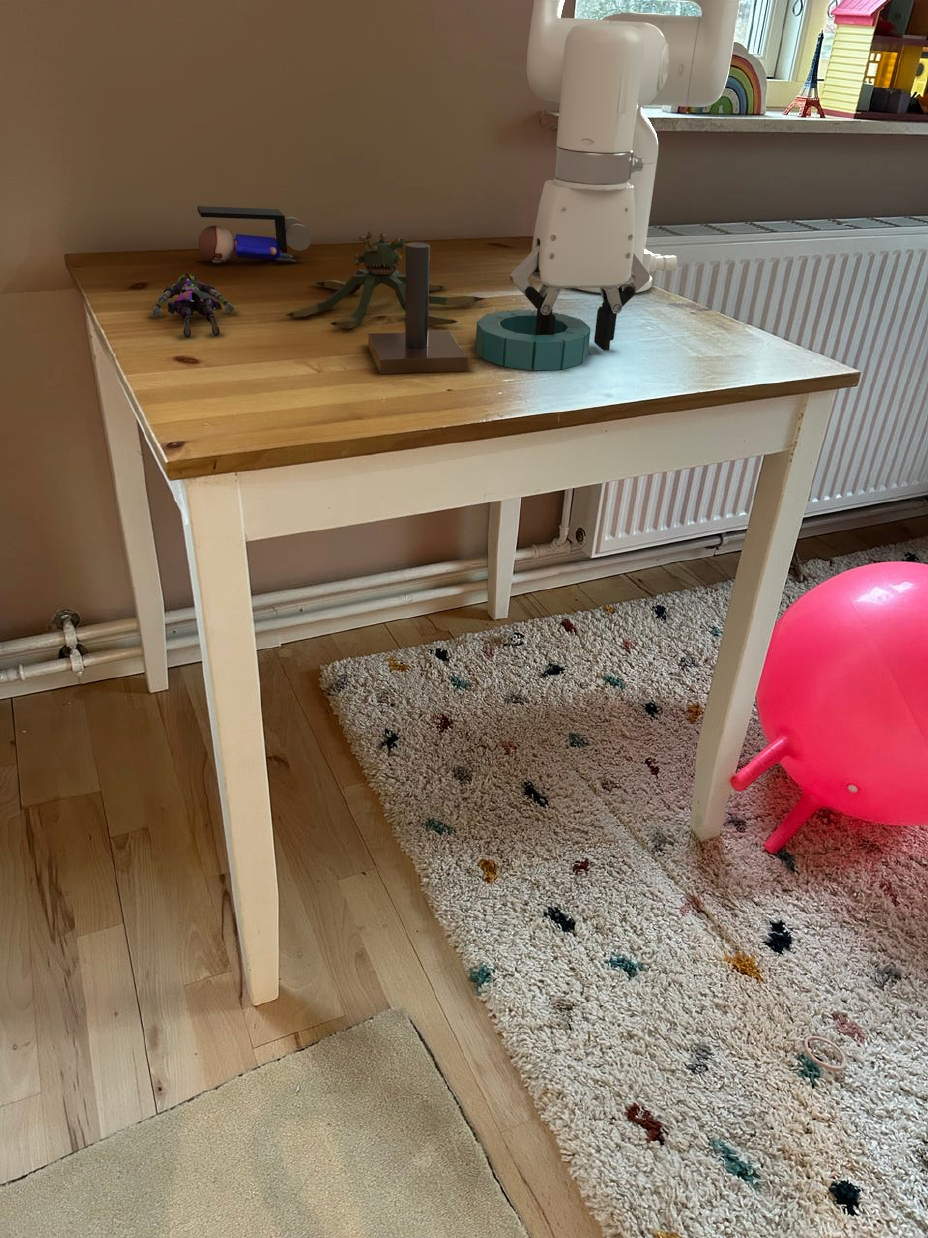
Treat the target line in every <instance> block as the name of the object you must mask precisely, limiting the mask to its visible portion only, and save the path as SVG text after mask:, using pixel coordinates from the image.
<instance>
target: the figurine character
mask: <svg viewBox="0 0 928 1238" xmlns="http://www.w3.org/2000/svg"><path fill="white" fill-rule="evenodd" d="M196 206H197V207H196V208H197V210H196V211H197V213H198V214H199V216H200V218H210V219H211V218H214V219H241V220H265V221H266V220H267V221H274V228H275V229H274V230H275V237H271V236H262V235H261V236H260V235H250V234H242V233H241V234H240V233H236V234H235V237H234V238H233V235H232V234H231V232H230V231H229V230H228V229H227V228H225V227H223V226H221V225H209V226H207V227H205V228H204V229H203V230H202V231H201V232H200V234H199V236H198V240H197V245H198V250H199V252H200V254H201V256H202V257H203V258H204V260H206V261H208V262H210V263H212V264H223V263H226V262H228V261H229V260H230V259H231V258H232V257H233V255H234V253H235V257H236V258H242V259H254V260H266V261H275V262H279V263H290V264H294V263H296V262H297V260H295V259H294V256H293V255H292V254H290V253H288V247H289V248H290V249H291V250H294V251H297V252H300V251H304V250H306V249H308V248H309V247H310V245H311V243H312V233H311V231H310V230H309V229H308V228H307V227H306V226H305V225H304V224H303V222H301V221H300V220H299V219H298V218H296V217H293V216H287V217H286V215H285V214H284V213H283V212H282V211H281V210H280V209H278V208H257V207H256V208H255V207H254V208H253V207H232V206H230V207H229V206H206V205H196Z"/></svg>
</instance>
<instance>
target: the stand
mask: <svg viewBox="0 0 928 1238" xmlns="http://www.w3.org/2000/svg"><path fill="white" fill-rule="evenodd" d="M405 244H406V249H405V275H406V291H405V310H404V311H405V314H404V319H405V320H404V321H405V323H404V332H379V333H368V335H367V336H368V337H367V338H368V341H367V344H368V349H369V351H370V353H371V355H372V358H373V360H374V362H375V365H376V367H377V369H378V371H379V374H380V375H392V374H394V375H395V374H396V375H397V374H423V373H424V374H426V373H451V372H453V373H455V372H468V358H469V357H468V356H467V354H466V353H465V352H464V350H463V349H462V347H461V346H460V344H459V343H458V342H457V340H456V339H455V337H454V335H452V333H451V332H450V331H429V324H428V317H429V313H430V311H429V309H430V303H429V294H430V291H429V283H430V267H431V266H430V263H431V261H430V259H431V258H430V257H431V254H430V253H431V245H430V244H429V243H426V242H417V241H415V242H408V243H405Z"/></svg>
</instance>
